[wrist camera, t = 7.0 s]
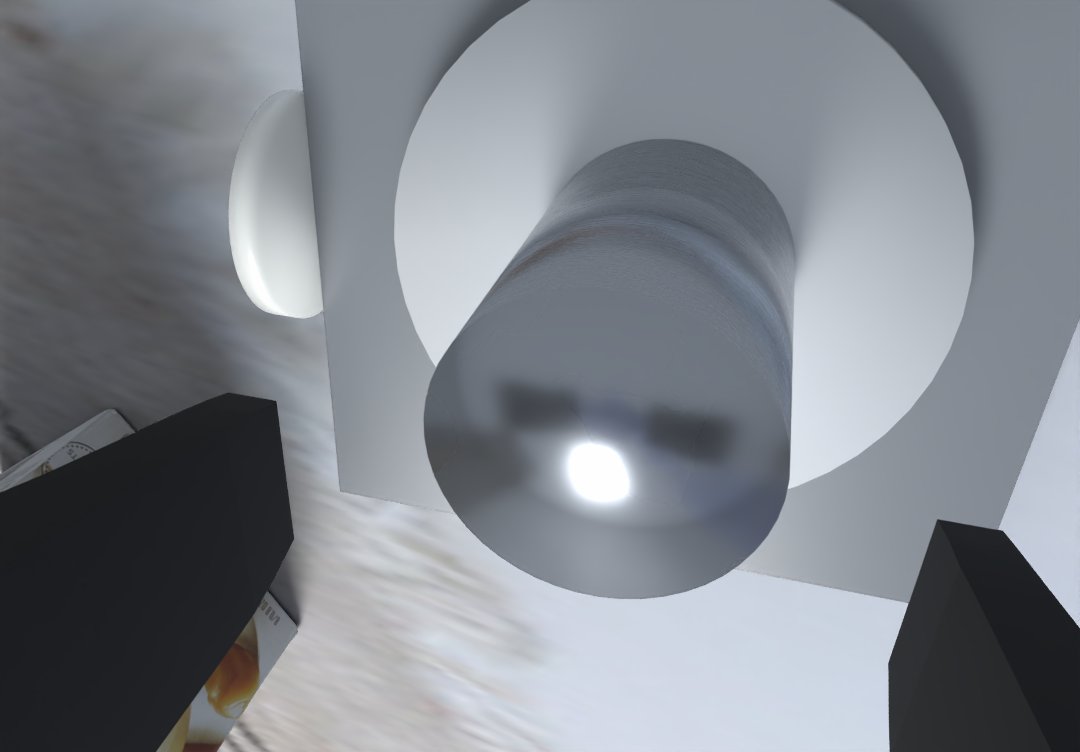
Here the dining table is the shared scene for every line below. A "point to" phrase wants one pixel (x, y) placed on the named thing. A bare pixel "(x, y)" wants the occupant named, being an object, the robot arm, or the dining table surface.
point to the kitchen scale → (757, 142)
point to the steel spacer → (628, 379)
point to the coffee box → (251, 653)
